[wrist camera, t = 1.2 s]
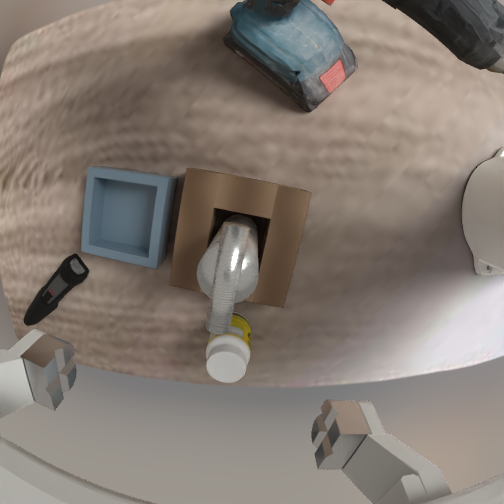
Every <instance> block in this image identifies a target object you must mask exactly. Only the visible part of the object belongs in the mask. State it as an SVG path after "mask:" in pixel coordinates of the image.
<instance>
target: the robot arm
mask: <svg viewBox="0 0 504 504" xmlns="http://www.w3.org/2000/svg"><path fill="white" fill-rule="evenodd" d="M462 223H463V230H464V234H465V238H466V241H467V243H468V245H469V247H470V249H471V251H472V253H473V258H474V267H475V271H476V273H477V274H480V275H500V274H504V147H503V148H501V149H500V150H499V151H498V152H497V154H496V155H495V157H493V158H492V159H490V160H487V161H485V162H483V163H481V164H480V165H479V166H478V167H477V168H476V169H475V171H474V172H473V173H472V175H471V177H470V179H469V181H468V184H467V186H466V190H465V193H464V198H463V206H462ZM73 355H74V349H73V345H72V344H70V343H68V342H66V341H64V340H61V339H59V338H57V337H54V336H52V335H50V334H47V333H45V332H42V331H40V330H38V329H33V330H32V331H30V332H29V333H28V334H27V335H26V336H24V337H23V338H22V339H21V340H20V341H19V342H17V343H16V344H15V345H14V346H13V347H12V348H10V349H9V350H8V351H7V350H5V349H3V350H0V418H2V417H4V416H6V415H8V414H10V413H12V412H15V411H17V410H19V409H21V408H23V407H26V406H28V405H30V404H32V403H34V401H35V402H37V403H39V404H41V405H43V406H45V407H48V408H50V409H52V410H54V411H55V410H56V408H57V407H58V405H59V404H60V403H61V401H62V400H63V398H64V397H63V392H66V391H69V390H70V389H71V388H72V386H73V384H74V382H75V379H76V365H75V363H74V362H73V360H72V359H71V358H72V357H73ZM321 410H322V414H321V415H320V416H318V417H317V418H316V419H315V421H314V424H313V427H312V442H313V445H315V446H316V447H317V448H318V449H317V451H316V452H315V458H316V463H317V468H318V469H343V470H342V471H343V472H344V473H345V474H346V476H347V477H348V478H349V479H350V480H351V481H352V482H353V483H354V484H355V485H356V486H357V487H358V489H359V490H360V491H361V492H362V493H363V494H364V495H365V496H366V497H367V498H368V499H369V500H370V501H371V502H372V503H373V504H504V473H502V474H500V475H498V476H495V477H493V478H491V479H489V480H487V481H484V482H482V483H480V484H477V485H475V486H472V487H470V488H467V489H464V490H462V491H459V492H456V493H453V494H452V492H451V490H450V488H449V486H448V484H447V482H446V480H445V478H444V476H443V474H442V472H441V470H440V469H439V468H438V467H437V466H435V465H434V464H433V463H431V462H430V461H428V460H427V459H425V458H424V457H422V456H421V455H419V454H418V453H417V452H415V451H414V450H412V449H411V448H409V447H408V446H406V445H405V444H404V443H402V442H401V441H399V440H398V439H396V438H395V437H394V436H392V435H391V434H386V433H385V431H384V428H383V426H382V424H381V422H380V420H379V418H378V415H377V413H376V411H375V409H374V407H373V405H372V403H371V402H370V401H346V400H326V401H325V402H324V403H323V405H322V407H321ZM0 504H155V503H152V502H148V501H144V500H141V499H137V498H134V497H131V496H128V495H125V494H122V493H119V492H116V491H113V490H110V489H107V488H104V487H102V486H99V485H97V484H94V483H92V482H89V481H87V480H84V479H82V478H80V477H77V476H75V475H73V474H70V473H68V472H66V471H64V470H62V469H60V468H58V467H56V466H53V465H52V464H50V463H48V462H46V461H44V460H42V459H40V458H38V457H37V456H35V455H33V454H31V453H30V452H28V451H26V450H24V449H23V448H21V447H19V446H17V445H16V444H14V443H13V442H11V441H9V440H8V439H6V438H5V437H4V436H2V435H0Z"/></svg>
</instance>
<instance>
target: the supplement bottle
mask: <svg viewBox="0 0 504 504" xmlns="http://www.w3.org/2000/svg"><path fill="white" fill-rule="evenodd" d="M250 351H251V326H250V323H249V321H248V320H247V318H246V317H245V316H243V315H242V314H240V313H237V312H233V314H232V319H231V324H230V329H229V332H228V333H226V334H223V335H219V334H214V333H210V337H209V340H208V344H207V348H206V358H207V363H206V368H207V371H208V373H209V374H210V376H211V377H213V378H214V379H215V380H217V381H220V382H224V383H232V382H235V381H238V380H240V379H241V378H242V377H243V376H244V374H245V372H246V367H247V364H248V362H249V360H250Z"/></svg>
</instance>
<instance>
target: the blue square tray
mask: <svg viewBox="0 0 504 504" xmlns="http://www.w3.org/2000/svg"><path fill="white" fill-rule="evenodd" d="M177 178H178V177H173V176H167V175H161V174H154V173H147V172H140V171H133V170H126V169H118V168H111V167H88V173H87V180H86V189H85V198H84V209H83V223H82V241H81V252H86V253H90V254H94V255H98V256H102V257H106V258H110V259H114V260H119V261H123V262H127V263H132V264H136V265H140V266H145V267H149V268H154V269H157V268H158V267H159V266H160V265H161V264H162V263H163V262H164V261H165V260H166V252H167V244H168V236H169V229H170V222H171V215H172V209H173V202H174V196H175V190H176V184H177Z"/></svg>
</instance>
